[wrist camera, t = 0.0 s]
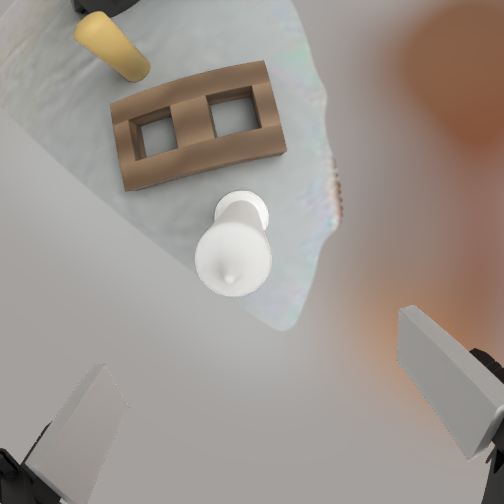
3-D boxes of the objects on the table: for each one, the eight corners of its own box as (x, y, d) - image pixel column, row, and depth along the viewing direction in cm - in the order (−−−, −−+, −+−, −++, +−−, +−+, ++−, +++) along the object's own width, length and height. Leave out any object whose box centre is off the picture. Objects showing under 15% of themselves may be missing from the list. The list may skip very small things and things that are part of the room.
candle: (239, 254, 39) (226, 367, 14) (203, 215, 37) (128, 273, 13) (279, 219, 38) (334, 284, 13) (243, 179, 36) (233, 169, 12)
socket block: (123, 111, 33) (110, 104, 29) (262, 73, 33) (264, 60, 28) (138, 190, 36) (125, 191, 32) (282, 154, 35) (287, 150, 31)
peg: (124, 64, 32) (74, 22, 17) (148, 54, 31) (106, 5, 17) (126, 85, 32) (73, 48, 18) (151, 76, 32) (106, 30, 18)
